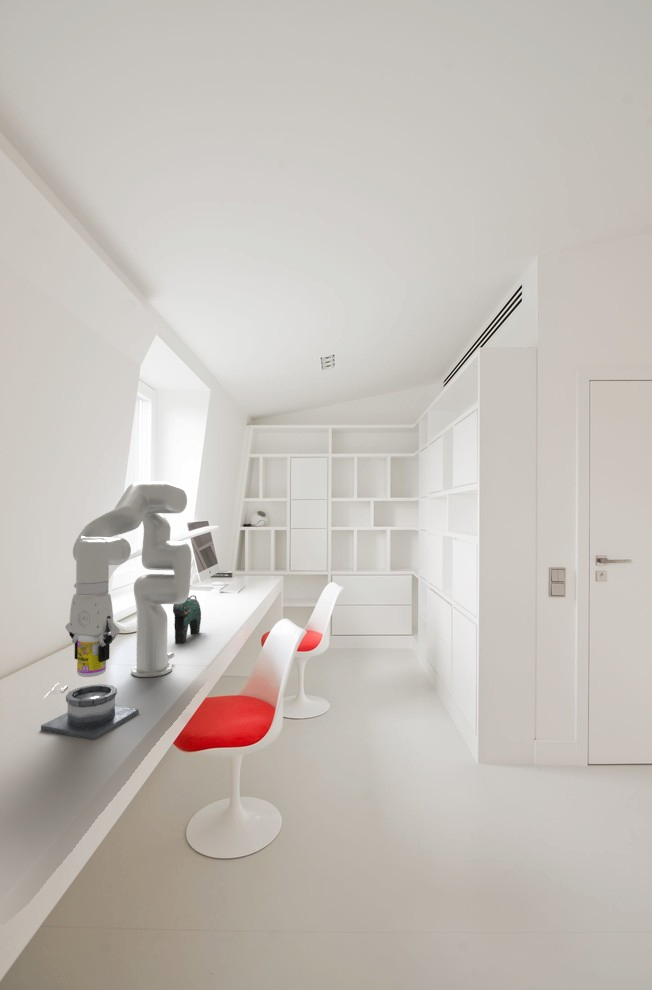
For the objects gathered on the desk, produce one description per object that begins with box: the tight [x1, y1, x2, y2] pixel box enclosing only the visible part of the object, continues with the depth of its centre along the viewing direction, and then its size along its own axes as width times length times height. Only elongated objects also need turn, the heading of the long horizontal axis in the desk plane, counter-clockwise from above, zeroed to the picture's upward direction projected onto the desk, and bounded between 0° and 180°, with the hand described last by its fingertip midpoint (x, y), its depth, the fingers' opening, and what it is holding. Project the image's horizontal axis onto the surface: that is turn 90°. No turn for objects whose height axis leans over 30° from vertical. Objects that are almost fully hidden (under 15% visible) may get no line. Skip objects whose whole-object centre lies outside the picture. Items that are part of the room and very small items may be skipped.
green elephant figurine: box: [172, 595, 202, 645], centre depth 215 cm, size 20×6×20 cm, turn 171°
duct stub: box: [40, 683, 140, 741], centre depth 134 cm, size 16×16×7 cm
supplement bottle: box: [76, 635, 107, 678], centre depth 134 cm, size 7×7×13 cm
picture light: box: [43, 682, 69, 699], centre depth 156 cm, size 14×4×2 cm, turn 10°
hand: (92, 658), depth 134 cm, fingers closed on supplement bottle, 6 cm apart
